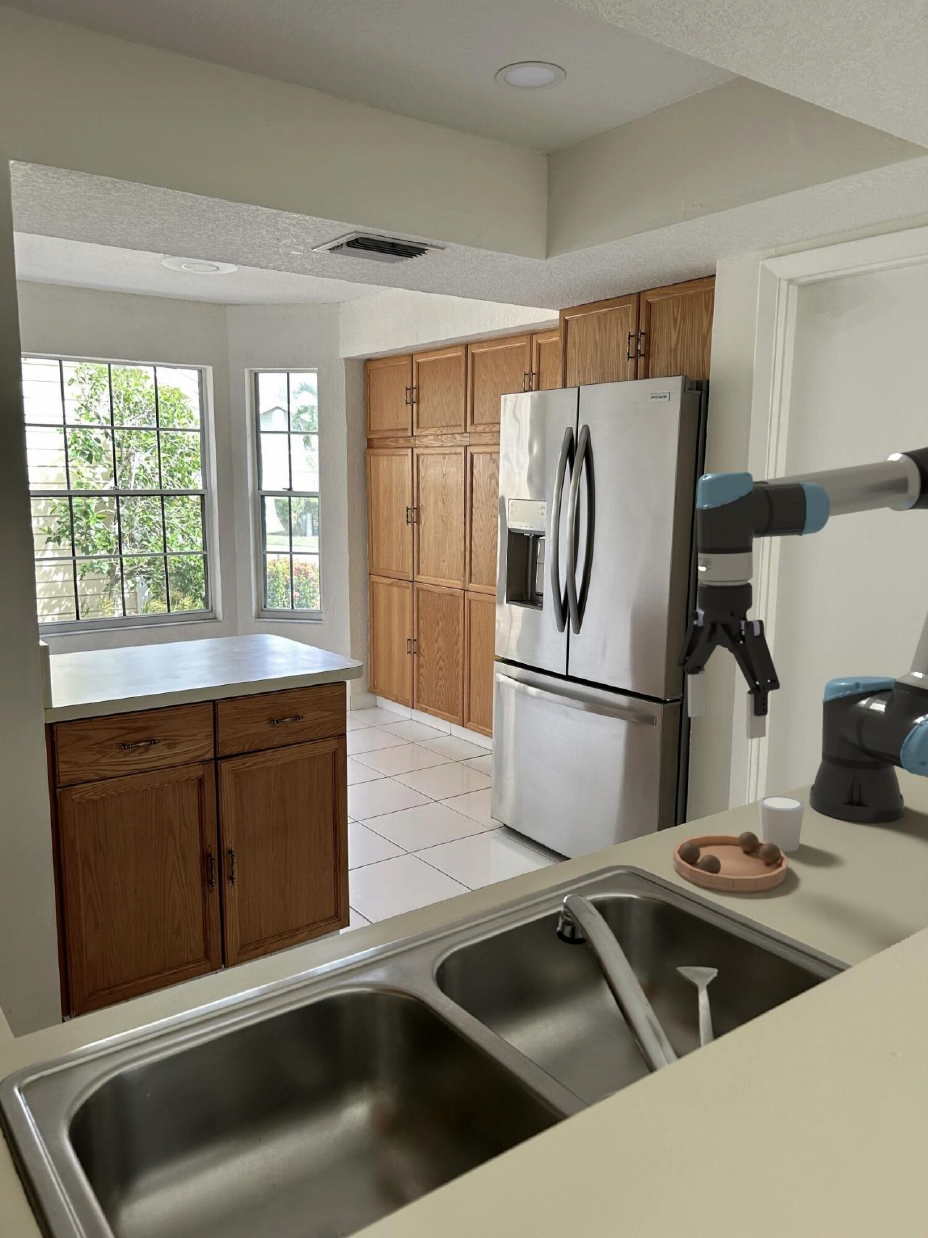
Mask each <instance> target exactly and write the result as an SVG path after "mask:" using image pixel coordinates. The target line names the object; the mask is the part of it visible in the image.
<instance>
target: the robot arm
mask: <svg viewBox="0 0 928 1238" xmlns="http://www.w3.org/2000/svg"><path fill="white" fill-rule="evenodd" d="M695 507H696V511H697V512H696V516H697V517H696V519H697V520H696V521H697V524H696V525H697V553H698V555H697V558H698V559H697V562H698V563H697V565H698V566H697V569H698V570H697V574H698V575H697V578H698V580H700V581H701V582H700V583H699V585H697V607H698V609H696V610H690V612H689V617H688V626H687V629H686V633H685V634H684V639H683V642H682V645H681V648H680V652H679V655H678V658H677V660H676V661H677V662H676V664H677V667H679V668H682V669H683V670H684V673H685V674H686V691H687V712H688V713H687V716H688V718H694V717H702V716H706V715H707V703H706V702H707V693H706V691H707V689H706V687H707V685H706V683H707V680H706V678H707V677H706V676H707V674H706V673H705V671H706V669H705V665H706V664H707V662H708V661H709V659H710V658H711V656H712V655H713V653H714V651H715V649H716V648H717V646H720V647H722V648H725V649H727V650H728V652H730V653H731V654H733V656H734V657H733V658H734V659H735V660H736V663H737V665H738V667H739V669H740V671H741V673H742V675H743V677H744V679H745V681H746V683H747V685H748V687H749V690H748V691H747V692H746V721H745V722H746V724H745V725H746V727H745V728H746V729H745V731H746V739H748V740H753V739H754V740H755V739H759V738H765V737H766V736H767V731H766V730H767V716H768V712H769V693H770V692H772V691H777V690H779V689H780V688H781V687H780V686H781V683H780V680H779V677H778V674H777V671H776V667H775V664H774V662H773V658H772V655H771V653H770V648H769V646H768V642H767V640H766V639H767V638H766V635H765V634H766V633H765V624H764V620H762V619H756V620H755V619H754V620H748V617H747V612H749V610H750V609H752V607H753V585H752V583H751V582H749V581H750V580H752V579H753V577H754V576H753V575H754V570H753V569H754V568H753V567H754V565H753V563H754V561H753V559H754V558H753V555H754V554H753V551H754V550H753V544H754V539H760V538H768V537H770V538H772V537H786V536H787V537H788V536H799V537H802V536H804V535H810V534H811V535H812V534H816V533H818V532H820V531H822V529H824V528H825V526H826V524H827V523H828V521H829V518H830V517H834V516H835V517H836V516H840V515H841V516H842V515H848V514H853V513H860V512H865V511H873V510H877V509H878V510H879V509H885V508H889V509H890V510H892V511H895V512H903V511H904V512H905V511H908V510H909V511H910V510H928V446H926V447H922V448H917V449H912V450H909V451H903V452H898V453H897V452H896V453H893V454H890V455H888V456H886V458H884V459H883V461H880V462H872V463H866V464H860V465H852V466H846V467H839V468H833V469H828V470H827V469H826V470H819V471H814V472H813V471H812V472H808V473H806V472H805V473H800V474H792V475H787V476H780V477H773V478H767V479H761V480H755V481H754V480H753V475H752V473H750V472H748V471H744V472H743V471H742V472H741V471H740V472H737V471H736V472H721V473H719V472H718V473H717V472H716V473H715V472H713V473H704V474H703V475H701V477H699V480H698V483H697V494H696V506H695ZM821 736H822V737H821V744H822V745H821V761H820V764H819V767H818V769H817V772H816V775H815V778H814V783H813V784H812V785H811V787H810V790H809V804H810V805H809V806H810V807H812V808H813V809H814V810H815V811H817V812H819V813H821V814H824V815H826V816H829V817H833V818H837V819H840V820H845V821H846V820H847V821H852V822H858V823H859V822H861V823H862V822H863V823H884V822H890V821H894V820H897V819H899V818H902V816H903V815H904V811H905V798H904V796H903V794H902V793H901V789H900V783H899V779H898V777H897V773H896V770H895V767H898V768H900V769H902V770H905V771H907V772H908V773H910V774H913V775H917V776H921V777H926V778H928V612H927V613H926V616H925V620H924V622H923V626H922V630H921V633H920V636H919V640H918V643H917V645H916V648H915V653H914V655H913V659H912V662H911V665H910V668H909V671H908V672H907V673H905V674H903V675H901V676H899V677H898V678H894V677H889V676H888V677H887V676H848V677H847V676H846V677H839V678H833V679H831V680H829V681H828V682H827V683H826V684H825V686H824V694H823V699H822V735H821Z"/></svg>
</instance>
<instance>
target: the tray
mask: <svg viewBox="0 0 928 1238" xmlns="http://www.w3.org/2000/svg"><path fill="white" fill-rule="evenodd" d="M739 836H740V835H732V834H704V835H698V836H693V837H692V836H691V837H689V838H686V839H684V840H681V841H680V842H678V843H676V846H675V847H674V849H673V852H672V854H673V855H672V860H673V863H674V864H673V867H674V871H675V872H676V873H677V874H678V875H679V877H681V878H683V880H685V881H687V882H689V883H691V884H693V885H694V886H695V885H696V886H698V887H701V888H705V889H706V890H712V891H717V892H721V893H732V894H754V893H763V892H767V891H771V890H774V889H776V888H778V887H780V886H782V885H783V884H784V883H785V882H786V880H787V876H788V866H789V864H788V863H789V858H788V857H787V856H786V855H785V853H784V852H782V851H781V850H780V852H781V857H780V859H779V861H778V862H776V863H774V864H767V863H765V862H764V861H762V859H761V858H760V855H759V851H760V848H761V847H762V846H763V845H764V844H766V843H765V842H762V841H761V840H759V845H758V847H757V849H756V850H754V851H752V852H746V851H744V850H742V849H741V848H740V846H739V844H738V839H739ZM685 843H694V844H695V845H697V846H698V848H699V849H700V858H699V860H698V861H697V862H695V863H691V864H690V863H686V862H684V861H683V860H682V859H681V857H680V848H681V847H682V845H684V844H685ZM705 855H713V856H715V857H717V858H718V859H719V861H720V863H721V869H720V872H719V873H718V874H712V873H709V872H706V871H703V870H700V867H699V863H700V860H701V858H702V857H704V856H705Z"/></svg>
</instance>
